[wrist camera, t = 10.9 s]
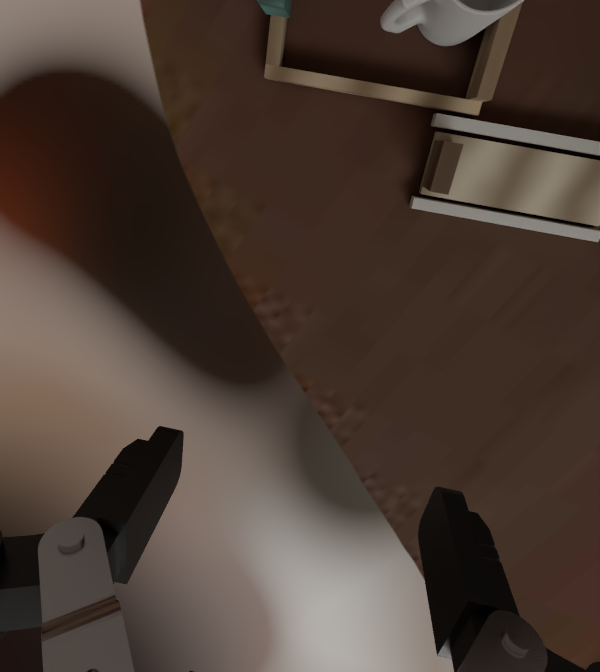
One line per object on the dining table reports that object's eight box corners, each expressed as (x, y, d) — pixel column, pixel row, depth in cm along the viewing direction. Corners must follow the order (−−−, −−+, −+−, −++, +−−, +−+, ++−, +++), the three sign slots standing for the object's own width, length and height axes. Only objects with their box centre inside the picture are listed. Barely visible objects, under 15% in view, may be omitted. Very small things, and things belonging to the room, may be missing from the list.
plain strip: (619, 164, 38) (657, 168, 34) (592, 223, 41) (623, 235, 36) (435, 131, 39) (446, 131, 34) (418, 192, 41) (427, 199, 37)
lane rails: (738, -83, 31) (757, -93, 30) (589, 238, 42) (597, 242, 40) (496, -122, 32) (503, -134, 30) (409, 205, 42) (411, 208, 41)
